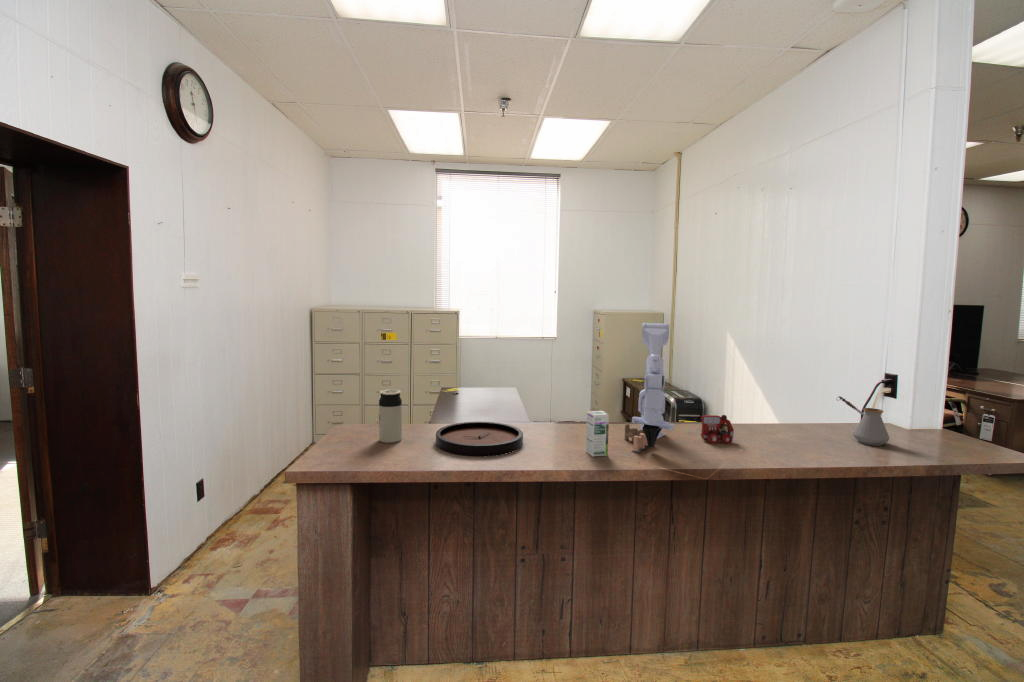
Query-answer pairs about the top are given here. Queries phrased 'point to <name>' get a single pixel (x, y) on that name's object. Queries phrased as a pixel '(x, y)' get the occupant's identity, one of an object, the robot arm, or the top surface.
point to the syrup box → (597, 433)
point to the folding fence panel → (639, 442)
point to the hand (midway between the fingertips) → (651, 446)
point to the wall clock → (479, 439)
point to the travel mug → (390, 416)
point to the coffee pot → (870, 426)
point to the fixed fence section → (631, 432)
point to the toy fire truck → (716, 429)
